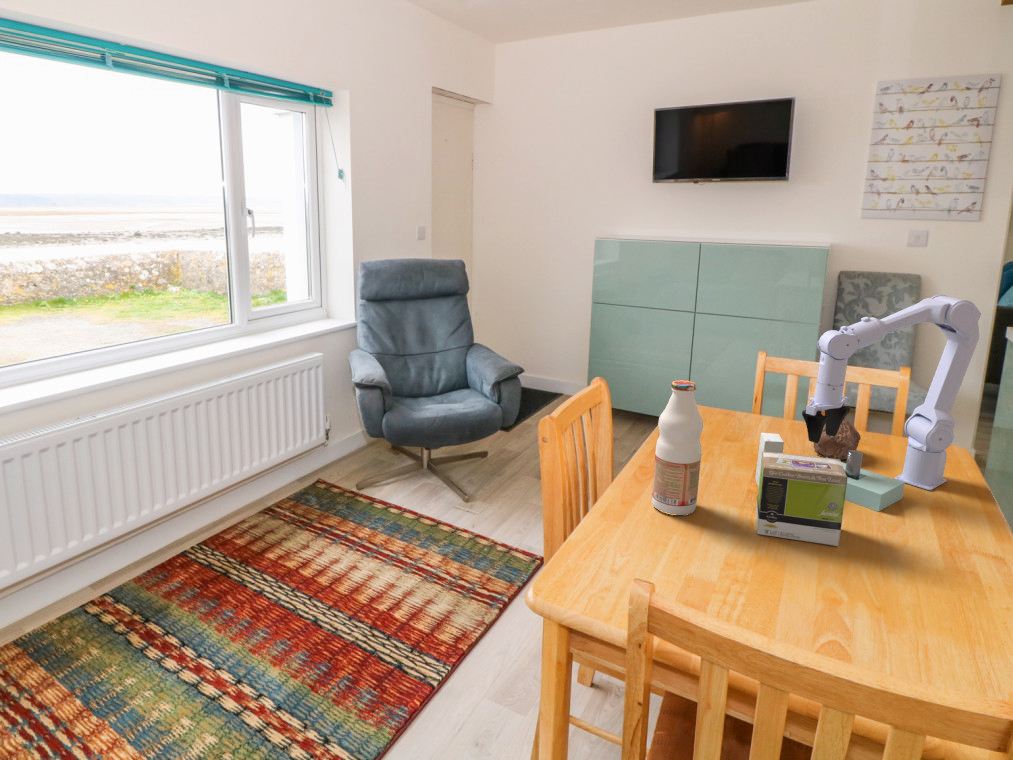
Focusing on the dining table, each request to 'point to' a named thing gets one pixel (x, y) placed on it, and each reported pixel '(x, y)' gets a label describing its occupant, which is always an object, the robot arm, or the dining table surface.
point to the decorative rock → (838, 442)
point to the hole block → (873, 490)
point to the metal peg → (853, 464)
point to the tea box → (801, 497)
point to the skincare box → (768, 448)
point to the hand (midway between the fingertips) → (822, 438)
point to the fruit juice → (678, 452)
